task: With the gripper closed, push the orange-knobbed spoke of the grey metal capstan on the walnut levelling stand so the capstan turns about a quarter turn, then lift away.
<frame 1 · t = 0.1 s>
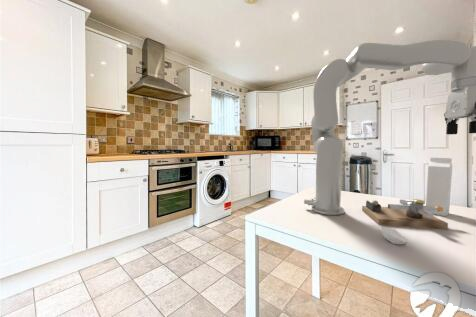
hand: (462, 133, 74), 31 cm above the table, fingers open, 9 cm apart
stand: (399, 218, 76), on the table
dumpling: (393, 243, 58), on the table
milk: (437, 213, 82), on the table
capstan: (414, 208, 72), point 5 cm above the table, hinge at 0.0°
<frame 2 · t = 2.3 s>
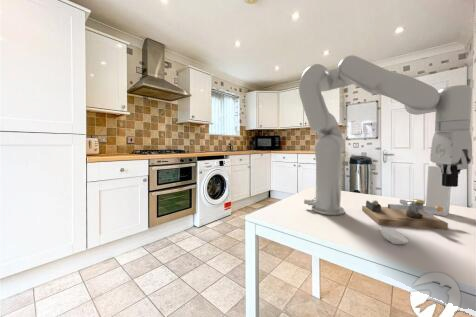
hand: (449, 186, 65), 14 cm above the table, fingers closed
nothing on the table moved.
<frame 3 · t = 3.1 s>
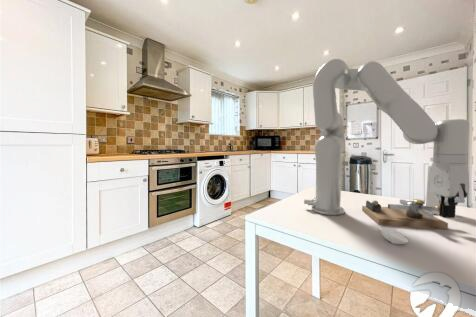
hand: (447, 216, 65), 4 cm above the table, fingers closed
nothing on the table moved.
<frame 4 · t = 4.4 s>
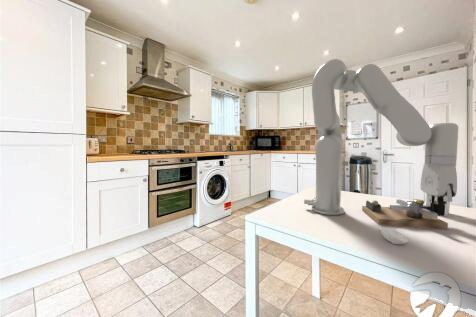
hand: (437, 214, 69), 4 cm above the table, fingers closed
capstan: (414, 208, 72), point 5 cm above the table, hinge at 9.1°, touching gripper
everything else where it was.
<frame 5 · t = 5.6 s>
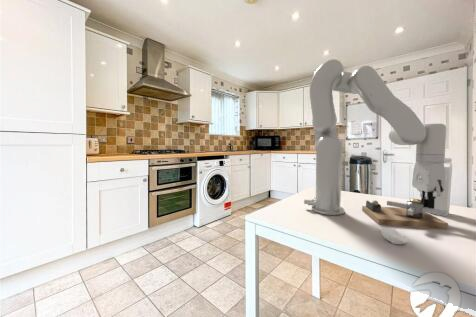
hand: (427, 209, 74), 4 cm above the table, fingers closed
capstan: (414, 208, 72), point 5 cm above the table, hinge at 53.7°, touching gripper
everything else where it was.
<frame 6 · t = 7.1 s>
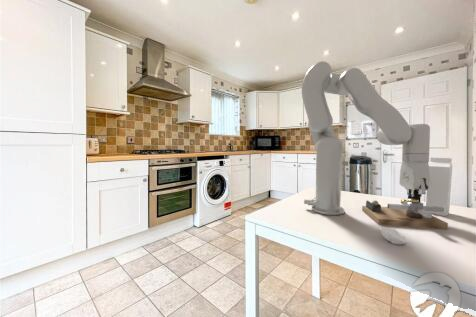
hand: (413, 206, 77), 4 cm above the table, fingers closed
capstan: (414, 208, 72), point 5 cm above the table, hinge at 87.1°, touching gripper
everything else where it was.
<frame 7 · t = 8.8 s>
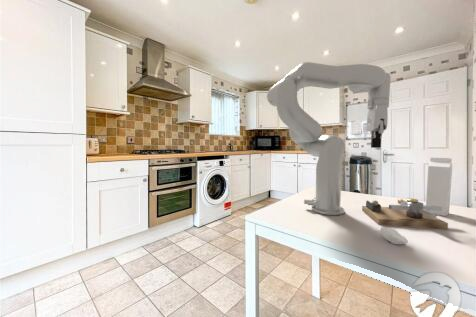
hand: (375, 147, 88), 26 cm above the table, fingers closed
capstan: (414, 208, 72), point 5 cm above the table, hinge at 95.6°
everything else where it was.
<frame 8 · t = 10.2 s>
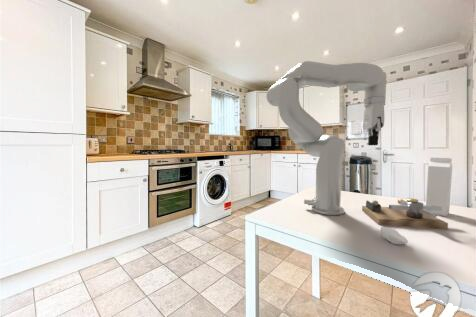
hand: (373, 145, 89), 27 cm above the table, fingers closed
nothing on the table moved.
at the end: capstan at +96° (first picture: +0°); capstan touching nothing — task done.
